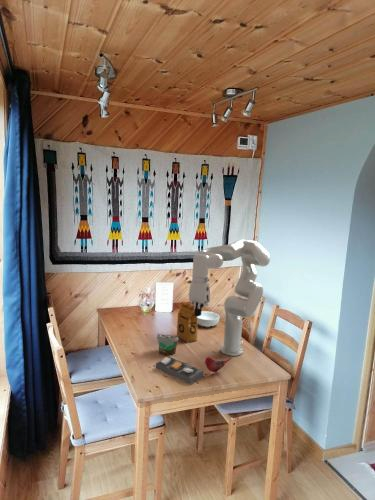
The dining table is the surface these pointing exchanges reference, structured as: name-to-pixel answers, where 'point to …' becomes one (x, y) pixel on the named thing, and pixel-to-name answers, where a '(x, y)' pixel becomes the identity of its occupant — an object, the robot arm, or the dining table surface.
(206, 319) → the cereal bowl
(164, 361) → the rocker
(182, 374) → the rocker switch panel
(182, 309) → the coffee package
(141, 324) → the dining table surface
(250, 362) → the dining table surface
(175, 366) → the middle rocker
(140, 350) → the dining table surface
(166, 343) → the food container
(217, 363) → the decorative bird figurine
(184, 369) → the rocker
